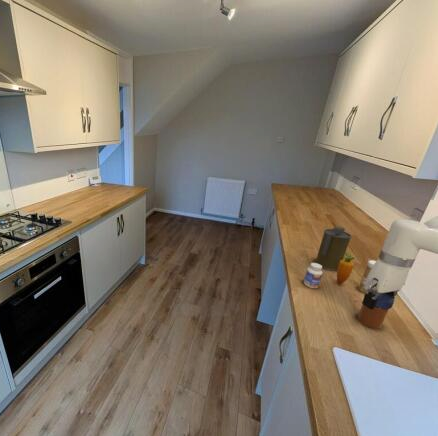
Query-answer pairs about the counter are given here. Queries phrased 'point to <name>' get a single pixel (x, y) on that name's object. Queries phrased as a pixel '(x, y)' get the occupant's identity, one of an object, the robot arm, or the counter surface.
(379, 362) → the counter surface
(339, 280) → the carrot
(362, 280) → the sprinkles bottle
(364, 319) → the jar
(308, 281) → the pill bottle
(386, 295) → the lid
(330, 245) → the canister
